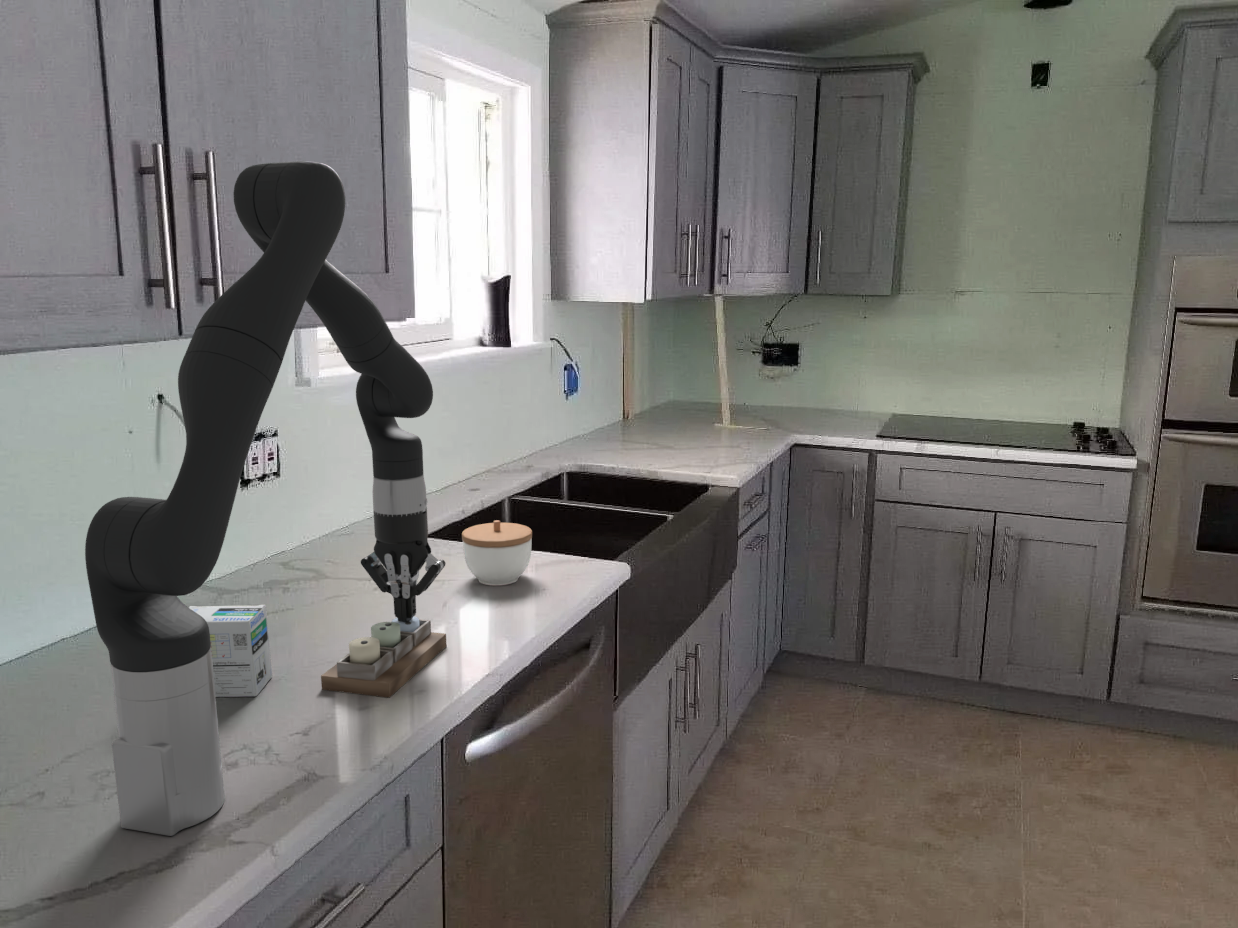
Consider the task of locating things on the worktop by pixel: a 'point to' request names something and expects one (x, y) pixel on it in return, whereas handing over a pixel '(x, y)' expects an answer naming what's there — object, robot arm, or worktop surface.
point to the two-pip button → (387, 633)
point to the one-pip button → (364, 650)
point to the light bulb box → (238, 648)
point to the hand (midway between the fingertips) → (405, 619)
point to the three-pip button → (408, 624)
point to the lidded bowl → (497, 551)
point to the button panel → (387, 665)
